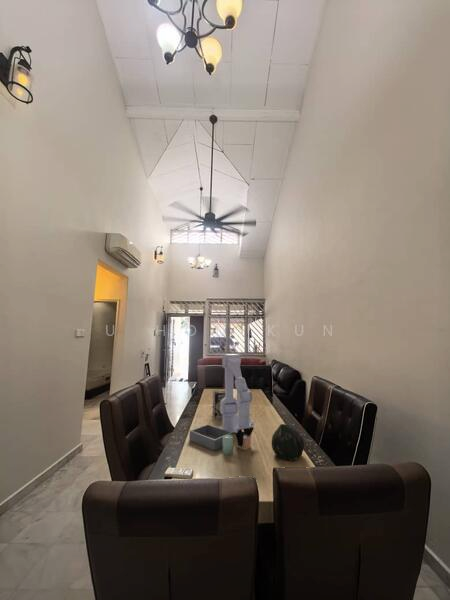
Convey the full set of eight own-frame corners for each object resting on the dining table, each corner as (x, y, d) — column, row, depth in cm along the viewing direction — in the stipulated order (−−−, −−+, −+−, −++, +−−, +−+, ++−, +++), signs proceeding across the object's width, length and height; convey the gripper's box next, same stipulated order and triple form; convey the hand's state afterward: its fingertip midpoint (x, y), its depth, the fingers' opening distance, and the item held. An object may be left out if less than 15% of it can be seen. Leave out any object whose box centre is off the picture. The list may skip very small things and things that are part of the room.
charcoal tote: (189, 440, 136) (189, 430, 136) (207, 433, 146) (207, 424, 147) (214, 451, 124) (214, 440, 125) (232, 442, 135) (232, 432, 135)
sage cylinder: (227, 449, 127) (227, 433, 128) (235, 452, 124) (235, 436, 125) (220, 452, 124) (220, 436, 125) (228, 455, 120) (228, 439, 121)
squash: (315, 445, 121) (294, 415, 128) (300, 458, 110) (278, 424, 117) (294, 459, 127) (275, 429, 135) (278, 472, 116) (259, 439, 123)
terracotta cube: (242, 443, 134) (242, 433, 134) (250, 446, 130) (250, 436, 131) (236, 447, 130) (236, 436, 131) (244, 450, 127) (244, 439, 127)
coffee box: (214, 418, 171) (215, 393, 173) (212, 415, 177) (212, 391, 179) (227, 418, 173) (228, 392, 175) (225, 414, 179) (225, 390, 181)
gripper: (241, 420, 124) (241, 451, 122) (258, 413, 135) (258, 441, 133) (230, 417, 129) (229, 446, 127) (247, 411, 139) (247, 437, 138)
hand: (243, 443), depth 130 cm, fingers closed on terracotta cube, 5 cm apart
